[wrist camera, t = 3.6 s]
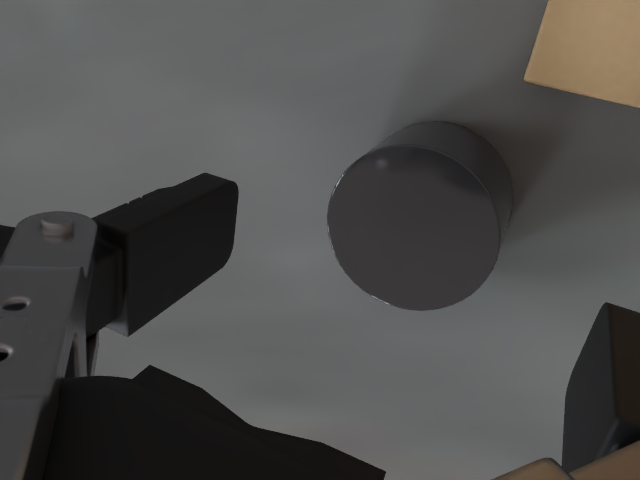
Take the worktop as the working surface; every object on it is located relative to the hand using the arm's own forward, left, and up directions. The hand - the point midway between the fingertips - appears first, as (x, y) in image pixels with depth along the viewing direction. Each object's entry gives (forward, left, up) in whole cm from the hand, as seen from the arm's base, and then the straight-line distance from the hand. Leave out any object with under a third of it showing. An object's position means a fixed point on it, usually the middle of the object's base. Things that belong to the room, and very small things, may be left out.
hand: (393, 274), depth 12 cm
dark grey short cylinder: (0, 0, -6) cm, 6 cm away
